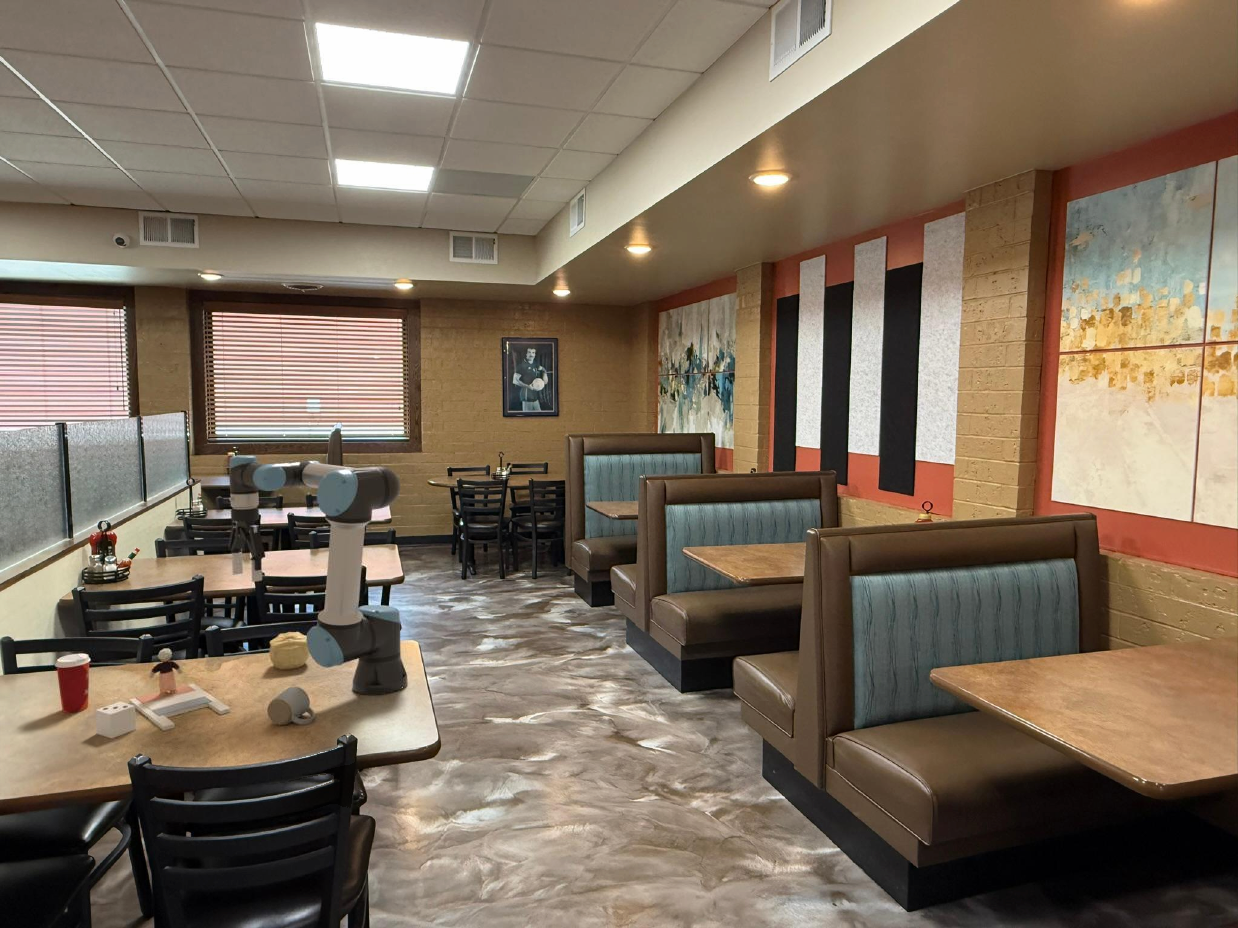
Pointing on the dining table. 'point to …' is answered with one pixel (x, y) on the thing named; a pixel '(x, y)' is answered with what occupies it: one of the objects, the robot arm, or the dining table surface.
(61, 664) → the paper cup
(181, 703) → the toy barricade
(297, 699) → the ceramic mug
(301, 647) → the pale yellow rounded lump
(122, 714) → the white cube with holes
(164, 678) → the grandmother figurine
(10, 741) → the dining table surface
